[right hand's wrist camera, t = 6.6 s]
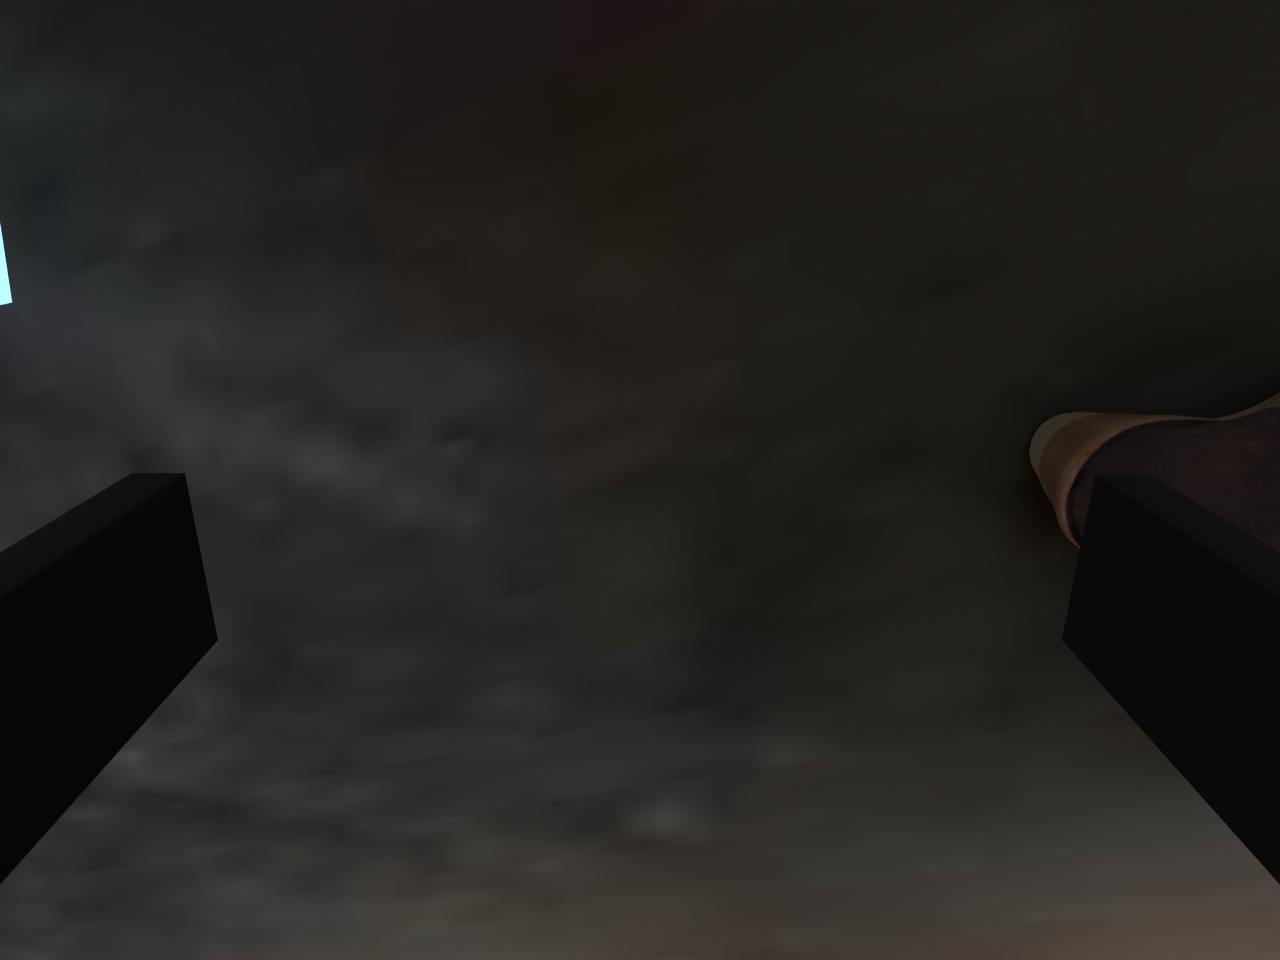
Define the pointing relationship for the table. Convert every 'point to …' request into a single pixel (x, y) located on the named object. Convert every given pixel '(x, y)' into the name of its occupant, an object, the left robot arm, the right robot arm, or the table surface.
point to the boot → (1167, 462)
